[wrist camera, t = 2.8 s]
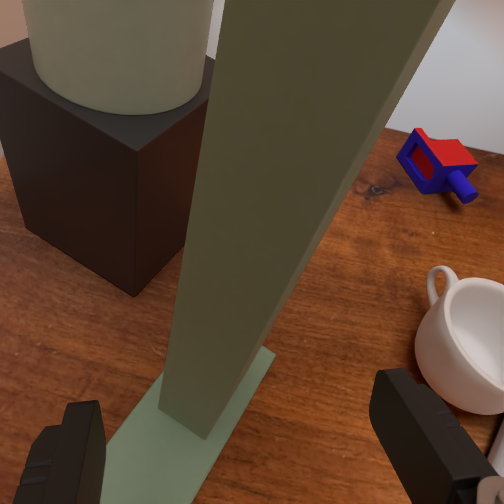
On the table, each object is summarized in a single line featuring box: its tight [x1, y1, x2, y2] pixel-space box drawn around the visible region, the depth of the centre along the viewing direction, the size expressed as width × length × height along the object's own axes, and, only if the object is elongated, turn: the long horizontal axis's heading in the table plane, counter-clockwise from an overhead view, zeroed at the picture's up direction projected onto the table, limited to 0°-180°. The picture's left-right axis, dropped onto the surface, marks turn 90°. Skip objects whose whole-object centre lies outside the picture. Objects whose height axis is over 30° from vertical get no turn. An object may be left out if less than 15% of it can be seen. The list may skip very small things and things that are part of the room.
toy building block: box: [396, 128, 478, 204], centre depth 41 cm, size 4×4×8 cm
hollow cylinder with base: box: [0, 0, 215, 297], centre depth 22 cm, size 10×9×21 cm
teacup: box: [415, 266, 504, 415], centre depth 28 cm, size 10×8×5 cm
